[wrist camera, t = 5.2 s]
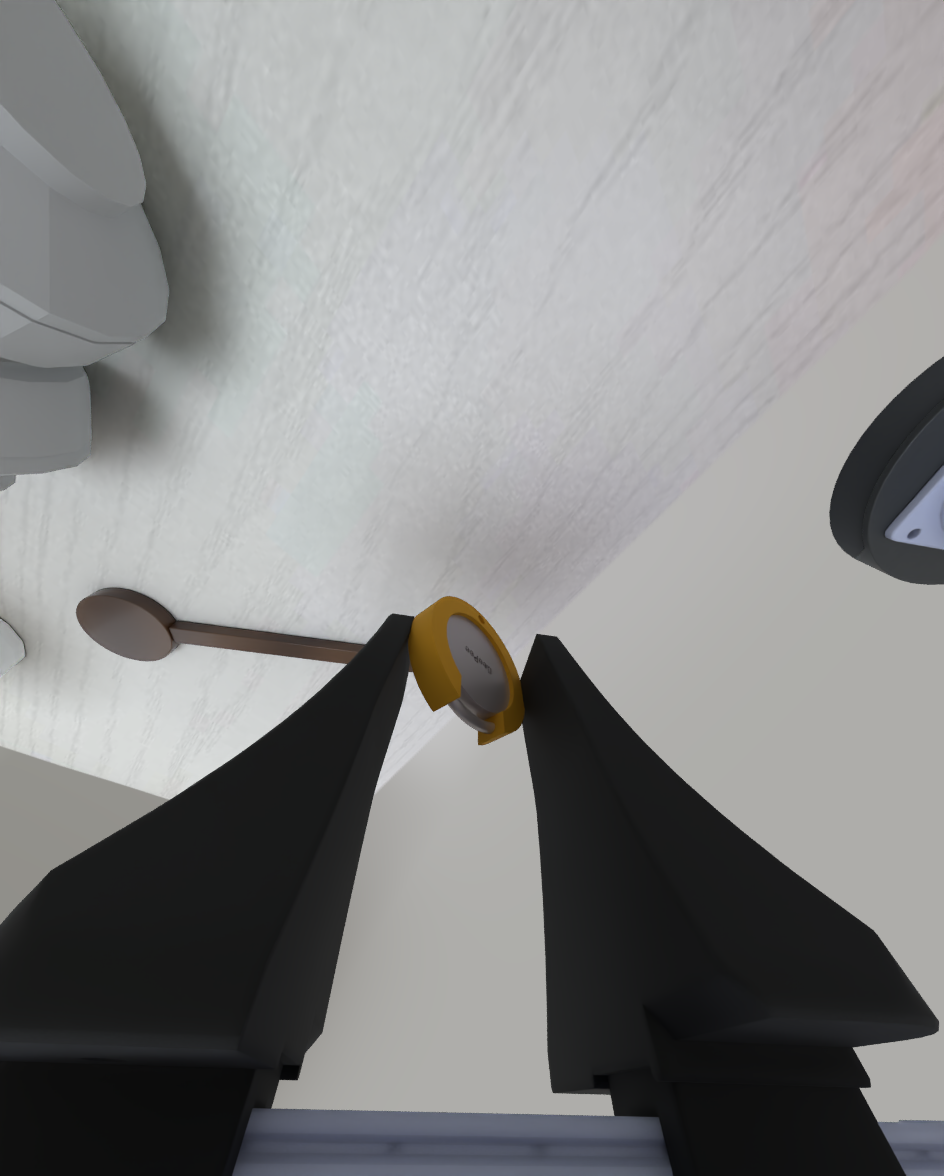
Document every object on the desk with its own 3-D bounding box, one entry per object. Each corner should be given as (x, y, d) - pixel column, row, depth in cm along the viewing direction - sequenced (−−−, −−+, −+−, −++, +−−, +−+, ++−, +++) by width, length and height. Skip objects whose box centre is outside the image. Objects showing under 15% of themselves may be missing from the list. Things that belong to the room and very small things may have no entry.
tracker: (516, 650, 12) (532, 756, 8) (498, 660, 12) (506, 767, 9) (440, 573, 10) (422, 667, 7) (420, 587, 10) (394, 684, 7)
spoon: (418, 628, 20) (416, 637, 20) (412, 684, 23) (410, 693, 22) (73, 581, 19) (58, 589, 18) (110, 647, 21) (98, 655, 21)
